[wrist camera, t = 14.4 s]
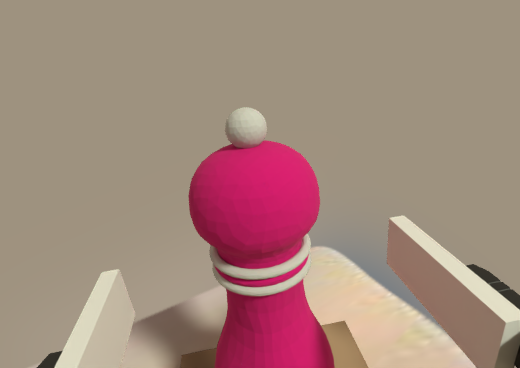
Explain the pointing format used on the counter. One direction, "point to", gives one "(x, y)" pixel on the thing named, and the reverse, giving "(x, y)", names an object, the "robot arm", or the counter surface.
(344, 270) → the counter surface
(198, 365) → the board
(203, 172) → the pepper mill
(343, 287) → the counter surface
